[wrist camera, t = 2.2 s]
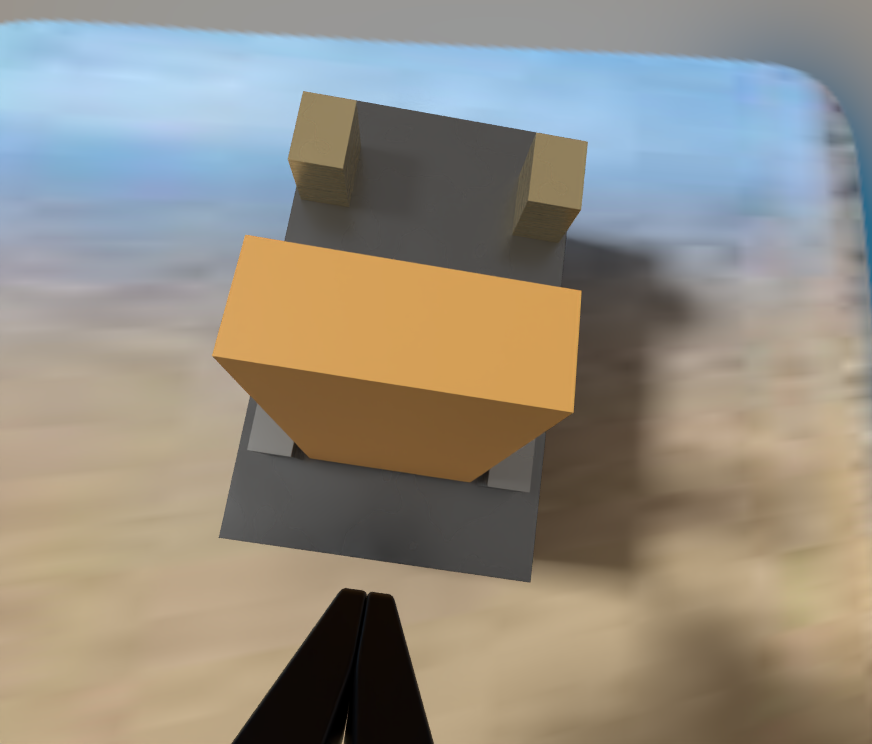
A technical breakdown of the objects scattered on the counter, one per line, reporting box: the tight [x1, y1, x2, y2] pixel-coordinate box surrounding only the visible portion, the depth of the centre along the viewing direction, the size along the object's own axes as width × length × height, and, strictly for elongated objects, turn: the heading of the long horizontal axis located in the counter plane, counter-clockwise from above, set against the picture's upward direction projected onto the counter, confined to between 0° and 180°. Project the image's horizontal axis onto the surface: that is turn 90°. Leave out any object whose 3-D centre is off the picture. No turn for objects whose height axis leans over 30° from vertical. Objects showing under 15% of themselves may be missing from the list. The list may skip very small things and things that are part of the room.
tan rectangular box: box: [212, 235, 582, 482], centre depth 10 cm, size 9×4×2 cm
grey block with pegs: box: [219, 91, 588, 582], centre depth 17 cm, size 13×8×8 cm, turn 172°
